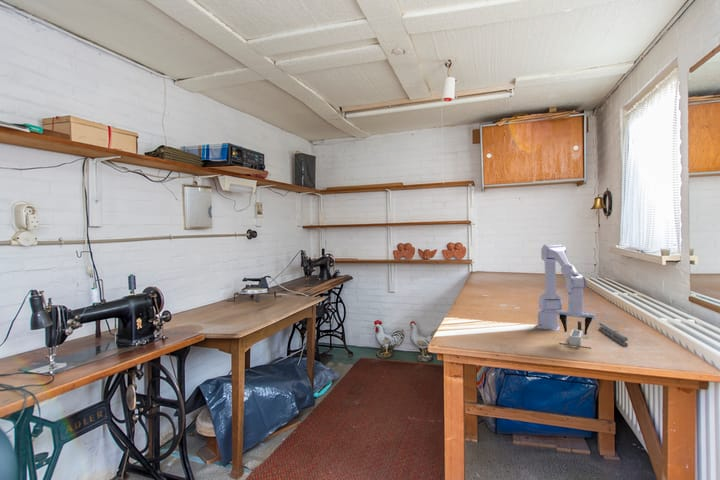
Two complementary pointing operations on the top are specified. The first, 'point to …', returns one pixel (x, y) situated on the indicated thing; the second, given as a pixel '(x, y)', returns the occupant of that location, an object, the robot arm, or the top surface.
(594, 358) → the top surface
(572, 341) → the steel link
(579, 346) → the rubber mat
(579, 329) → the post stand
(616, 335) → the metal rod assembly
